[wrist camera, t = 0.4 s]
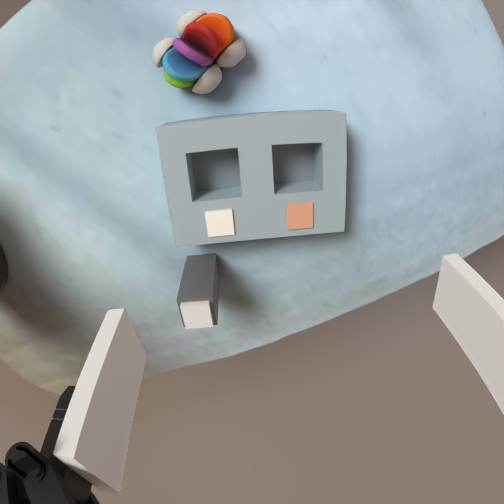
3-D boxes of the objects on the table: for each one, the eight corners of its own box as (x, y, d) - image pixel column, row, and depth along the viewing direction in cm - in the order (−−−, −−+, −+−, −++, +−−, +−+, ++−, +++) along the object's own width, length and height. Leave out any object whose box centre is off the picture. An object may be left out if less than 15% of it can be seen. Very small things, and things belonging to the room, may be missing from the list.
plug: (191, 280, 45) (183, 331, 35) (187, 256, 43) (175, 304, 33) (219, 278, 45) (217, 329, 35) (215, 253, 43) (211, 301, 33)
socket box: (182, 229, 41) (175, 248, 36) (165, 123, 34) (155, 127, 30) (332, 215, 41) (345, 232, 37) (332, 110, 35) (347, 113, 30)
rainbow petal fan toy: (256, 45, 31) (261, 34, 24) (201, 105, 34) (193, 107, 27) (201, 5, 28) (194, -13, 21) (147, 65, 31) (128, 59, 24)
